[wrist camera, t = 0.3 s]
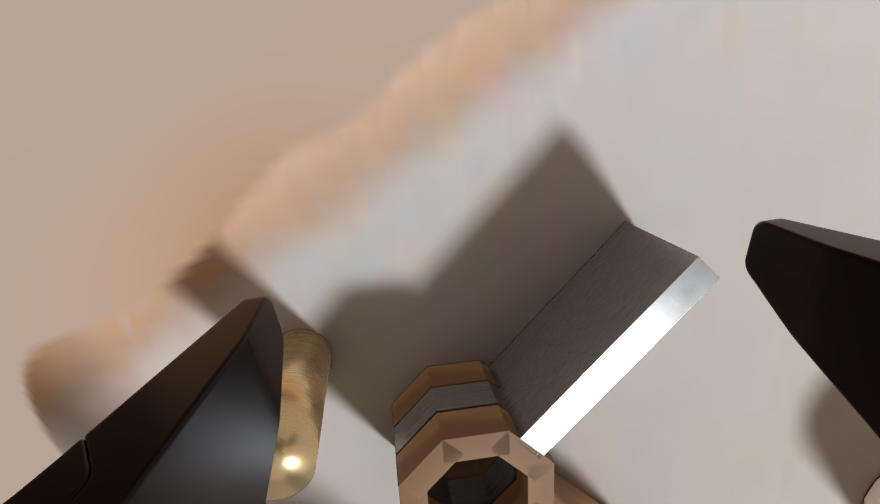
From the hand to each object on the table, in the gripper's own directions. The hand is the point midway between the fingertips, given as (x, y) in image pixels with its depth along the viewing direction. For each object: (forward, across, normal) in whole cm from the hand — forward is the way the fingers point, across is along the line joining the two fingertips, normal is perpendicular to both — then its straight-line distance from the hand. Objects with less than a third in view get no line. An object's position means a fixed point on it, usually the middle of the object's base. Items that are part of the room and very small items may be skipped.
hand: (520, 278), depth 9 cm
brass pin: (+13, +8, +12) cm, 19 cm away
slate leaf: (+13, -3, +14) cm, 19 cm away
